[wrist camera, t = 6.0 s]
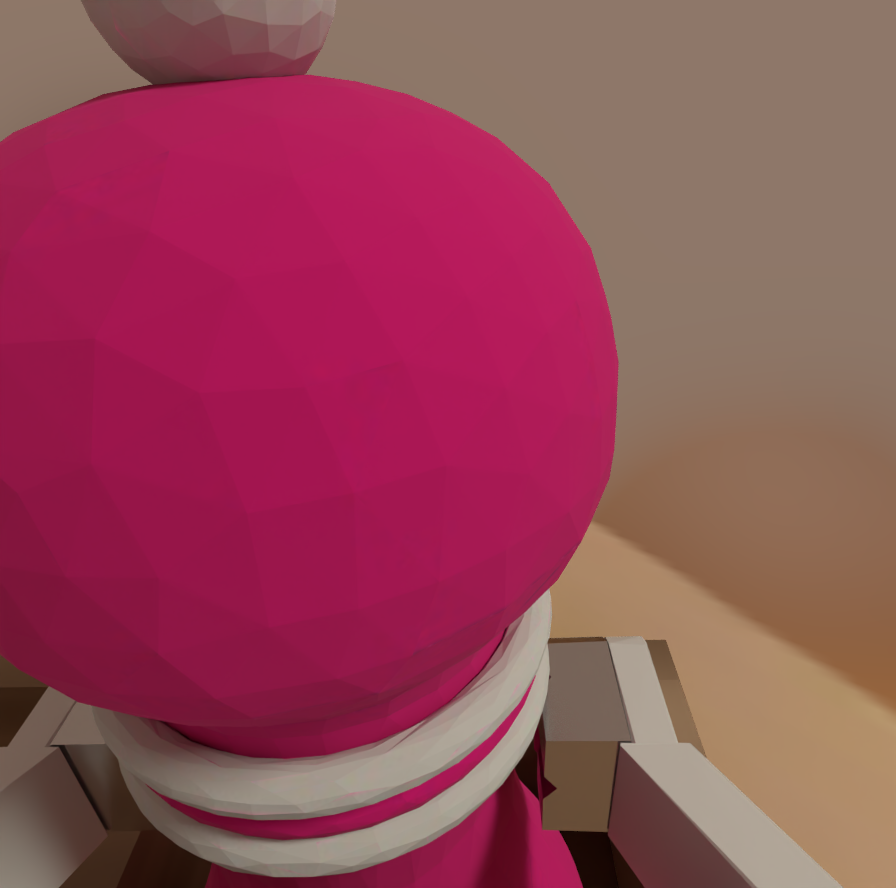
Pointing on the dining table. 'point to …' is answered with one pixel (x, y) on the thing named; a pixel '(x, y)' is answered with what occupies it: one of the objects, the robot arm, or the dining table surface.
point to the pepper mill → (296, 451)
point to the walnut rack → (185, 875)
